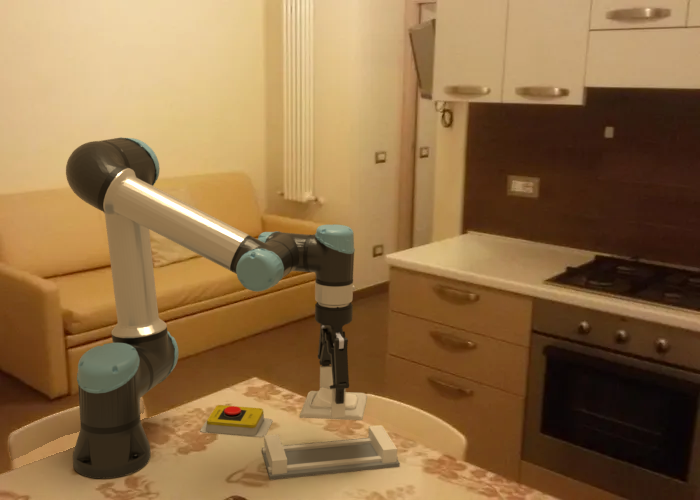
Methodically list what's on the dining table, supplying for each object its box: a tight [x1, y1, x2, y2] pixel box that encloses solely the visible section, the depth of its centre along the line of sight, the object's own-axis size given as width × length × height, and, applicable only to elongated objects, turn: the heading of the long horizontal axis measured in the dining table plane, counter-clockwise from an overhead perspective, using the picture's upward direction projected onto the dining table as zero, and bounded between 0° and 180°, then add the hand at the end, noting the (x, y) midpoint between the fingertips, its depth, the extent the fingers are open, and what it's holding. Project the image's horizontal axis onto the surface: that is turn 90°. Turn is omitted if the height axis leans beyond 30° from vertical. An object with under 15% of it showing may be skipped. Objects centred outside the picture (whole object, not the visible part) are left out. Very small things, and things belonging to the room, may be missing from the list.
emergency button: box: [199, 404, 273, 438], centre depth 169 cm, size 9×4×15 cm
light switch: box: [299, 387, 368, 421], centre depth 154 cm, size 11×4×13 cm
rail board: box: [261, 424, 400, 481], centre depth 156 cm, size 27×12×4 cm, turn 104°
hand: (331, 405), depth 154 cm, fingers closed on light switch, 10 cm apart
